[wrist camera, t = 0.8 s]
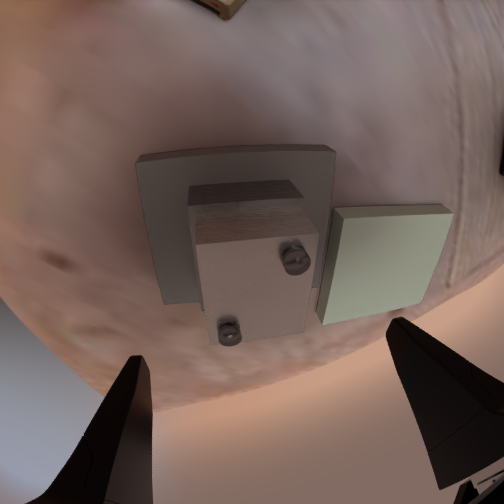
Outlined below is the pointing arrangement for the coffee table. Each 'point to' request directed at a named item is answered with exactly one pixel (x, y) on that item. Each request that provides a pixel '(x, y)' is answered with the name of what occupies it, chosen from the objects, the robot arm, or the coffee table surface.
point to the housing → (252, 258)
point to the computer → (221, 7)
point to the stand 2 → (380, 259)
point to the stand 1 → (214, 172)
